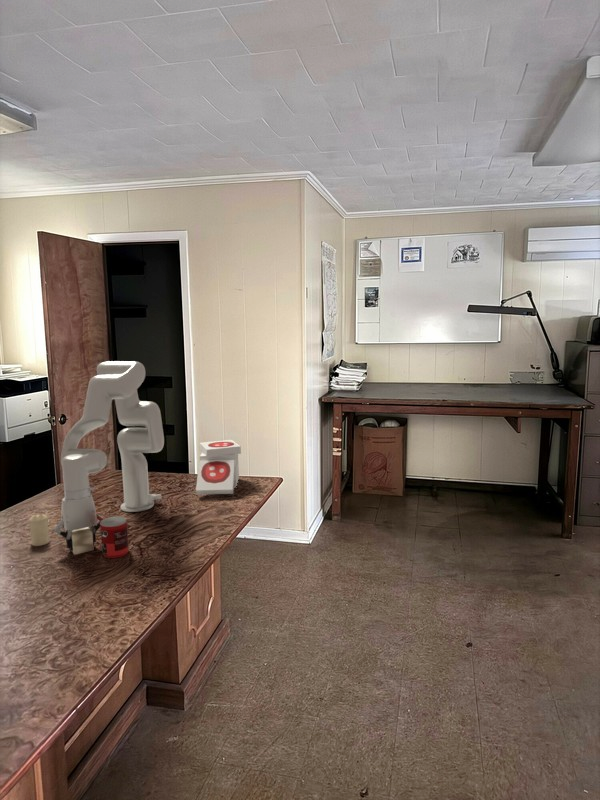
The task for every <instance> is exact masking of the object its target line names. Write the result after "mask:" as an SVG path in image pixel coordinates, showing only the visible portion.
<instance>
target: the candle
mask: <svg viewBox="0 0 600 800" xmlns="http://www.w3.org/2000/svg"><path fill="white" fill-rule="evenodd" d="M28 521H29V531H30V541H31V545H32V546H34V547H39V546H45V545H47V544H49V543H50V531H49V529H50V528H49V520H48V516H47V515H46V514H44V513H37V512H36V513H34V514H32V516H31V517H30V518H29V519H28Z"/></svg>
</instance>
